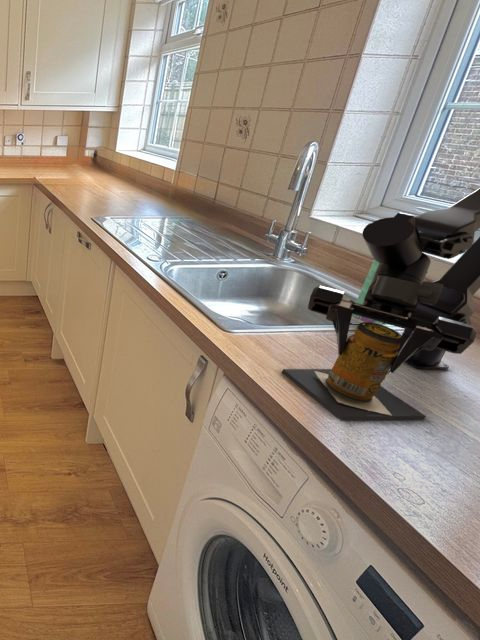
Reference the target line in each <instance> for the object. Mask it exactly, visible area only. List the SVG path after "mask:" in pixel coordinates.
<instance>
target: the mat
mask: <svg viewBox="0 0 480 640" xmlns="http://www.w3.org/2000/svg"><path fill="white" fill-rule="evenodd" d="M331 369H332V368H283V369H282V370H281V373H282V374H283V376H285V377H286V378H287V379H288V380H290V381H291V382H293V383H294V384H295V385H296V386H297V387H298V388H300V389H302V391H303V392H305V393H306V394H308V396H310V397H311V398H312V399H314V400H315V401H316V402H317V403H318V404H320V405H321V406H322V407H323V408H325V409H326V410H327V411H328V412H330V414H332V415H333V416H334V417H335V418H337V419H338V420H339V421H341V422H349V421H351V422H352V421H356V422H357V421H361V422H362V421H424V420H425V419H426V417H427V415H426V414H424V413H423V412H421V411H419V410H418V409H417V408H415V407H413V406H411V404H409V403H407V402H406V401H404V400H403V399H401V398H400V397H398V396H396V395H395V394H394V393H393V392H391V391H389V390H387V389H386V388H385V387H383V386H382V385H381V386H380V387H379V388H378V390H377V391H376V393H375V395H374V396H375V397H376V398H377V399H378V400H379V401H380V402H381V403H382V405H383V406H385V408H386V409H387V410H388V411H389V412H390V414H391V415H392V416H391V415H387V414H381V413H378V412H374V411H368V410H365V409H360V408H356V407H353V406H349V405H345V404H343V403H339V402H337V401H336V399H335V398H334V397H333V396H332V395H331V393H330V392H329V390H328V389H327V388H326V387H325V385H324V384H323V383H322V382H321V380H320V379H319V378H318V376H317V375H316V373H315V372H314V371H317V372H321V373H325V374H328V375H329V373H330V371H331Z"/></svg>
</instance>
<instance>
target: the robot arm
mask: <svg viewBox="0 0 480 640" xmlns="http://www.w3.org/2000/svg"><path fill="white" fill-rule="evenodd" d="M479 229H480V188H478V189H475V191H473V192H471V193H469V194H467V196H465V197H463V198H462V199H460V200H458V201H457V202H455V203H454V204H452V205H451V206H448V207H447V208H441V209H440V208H439V209H432V210H428V211H425V212H423V213H420V214H418V215H416V216H415V215H414V214H408V213H403V212H397V213H396V214H395V215H394V216H391V217H383V218H379V219H376V220H374V221H372V222H370V223H367V225H365V226H364V228H363V229H362V238H363V240H364V242H365V244H366V246H367V248H368V250H369V252H370V254H371V257H372V258H373V260H374V259H375V260H376V261H377V262H379V264H378V267H377V269H376V272H375V274H374V276H373V279H372V281H371V284H370V286H369V288H368V291H367V293H366V296H365V298H364V301H363V303H362V304H359V303H356V301H354V300H352V299H349V298H345V297H344V295H345V291H342V290H339V289H335V288H332V287H327V286H323V285H317V286H315V287H313V290H312V292H311V293H310V297H309V300H308V305H307V309H308V310H309V311H310V312H313V313H318V314H320V315H323V316H325V319H326V320H327V321H329V322H332V325H333V329H334V332H335V335H336V347H337V355H338V356H339V355H342V353H343V350H344V348H345V345H346V341H347V339H348V337H349V336H348V335H349V330H350V325H351V321H352V319H351V318H352V314H355V315H358V316H362V317H365V318H369V319H372V320H376V321H379V322H383V324H387V325H390V326H393V327H396V328H400V329H403V331H402V334H401V336H402V337H403V341H402V343H400V346H399V348H398V349H397V353H398V355H397V358H396V359H395V361H394V362H393V364H392V365H391V369H390V370H389V372H390V373H392V374H393V373H395V372H396V371H397V370H398V369H399V368H400V367H401V366H402V365H403V364H404V363H407V364H409V365H410V366H412V367H414V368H416V369H419V370H448V369H449V368H450V366H449V365H447V364H446V363H444V362H443V361H442V359H443V358H444V356H445V354H446V352H448V353H451V354H456V355H458V354H459V355H461V354H462V353H463V352H464V351H466V349H468V348H469V347H470V346H472V344H474V342H475V339H476V336H477V330H476V328H475V327H474V326H473V324H472V321H471V317H472V316H473V315H474V314H475V313H474V312H475V311H474V310H475V309H474V299H473V298H474V295H475V294H476V293H477V292H478V291H479V290H480V235H479V236H478V237H476V239H475V235H476V234H475V233H476V232H478V230H479ZM429 255H430V256H434V257H438V258H443V259H446V260H447V259H448V260H450V259H453V258H455V257H457V256H459V255H460V257H459V258H458V259H457V260H456V261H455V262H454V263H453V265H452V266H451V267H450V268H449V269H448V270H447V271H446V272H445V273H444V274H443V275H442V276H441V277H440V278H439V279H437V280H434V281H429V280H425V279H426V276H427V274H428V271H429V268H430V265H431V263H432V262H431V259H430V257H429Z"/></svg>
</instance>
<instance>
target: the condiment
mask: <svg viewBox="0 0 480 640" xmlns="http://www.w3.org/2000/svg"><path fill="white" fill-rule="evenodd" d="M401 335H402V334H401V333H400V332H399V331H397V330H395V329H393V328H390V327H388V326H386V325H383V324H382V325H380V324H377V323H372V322H362V323H358V325H357V327H356V328H355V330H354V331H353V334H351V335H349V336H347V341H346V345H345V348H344V350H343V353H342V355H339V354H338V356H337V358H336V360H335V362H334V364H333V366H332V367H331V368H330V369H331V371H330V373H329V375H328V374H325V373H321V372H317V371H314V372H315V373H316V375H317V376H318V378H319V379H320V380H321V382H322V383H323V384H324V385H325V387H326V388H327V389H328V390H329V392H330V393H331V395H332V396H333V397H334V398H335V399H336V401H337V402H339V403H343V404H345V405H349V406H353V407H356V408H360V409H365V410H368V411H374V412H378V413H381V414H387V415H391V414H390V412H389V411H388V410H387V409H386V408H385V406H383V405H382V403H381V402H380V401H379V400H378V399H377V398H376V397H375V396H374V395H375V393H376V391H377V390H378V388H379V387H380V386H381V387H382V384H383V382H384V381H385V380H386V377H387V375H388V374H389V372H390V369H391V365H392V364H393V362H394V361H395V359H396V358H397V355H398V353H397V349H398V348H399V346H400V343H402V341H403V337H402V336H401ZM391 416H392V415H391Z"/></svg>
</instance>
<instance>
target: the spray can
mask: <svg viewBox="0 0 480 640" xmlns="http://www.w3.org/2000/svg"><path fill="white" fill-rule="evenodd" d="M378 264H379V262H377V261H376V260H375V259H374V258H373V260H372V263H371V266H370V268H369V270H368V273H367V275H366V277H365V280H364V282H363V285H362V287H361V290H360V292H359V294H358V297H357V299H356V301H355V303H359V304H362V303H363V301H364V298H365V296H366V293H367V291H368V288H369V286H370V284H371V281H372V279H373V276H374V274H375V272H376V269H377V267H378ZM351 321H354V322H356V323H358V324H360V323H362V322H372V323H377V324H380V325H383V324H384V323H383V322H379V321H376V320H372V319H369V318H365V317H362V316H358V315H355V314H352V318H351Z"/></svg>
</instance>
